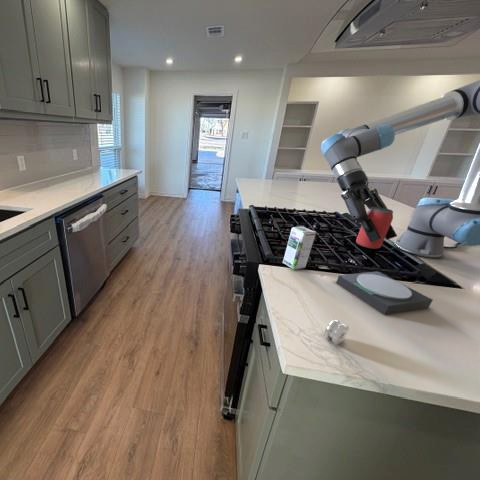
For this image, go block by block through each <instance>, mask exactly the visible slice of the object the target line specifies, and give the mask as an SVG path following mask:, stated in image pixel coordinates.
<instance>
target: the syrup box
mask: <svg viewBox="0 0 480 480" xmlns="http://www.w3.org/2000/svg"><path fill="white" fill-rule="evenodd" d="M316 235H317V231H314V230H312V229H310V228H307V227H306V226H294V227H291V230H290V233H289V236H288V241H287V246H286V249H285V251H284V252H285V253H284V257H283V260H282V264H284V265H286V266H287V267H288V268H290V269H292V270H293V271H295V270H301V269H305V268H306V267H307V263H308V261H309V256H310V254H311V250H312V248H313V244H314V240H315V237H316Z"/></svg>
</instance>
